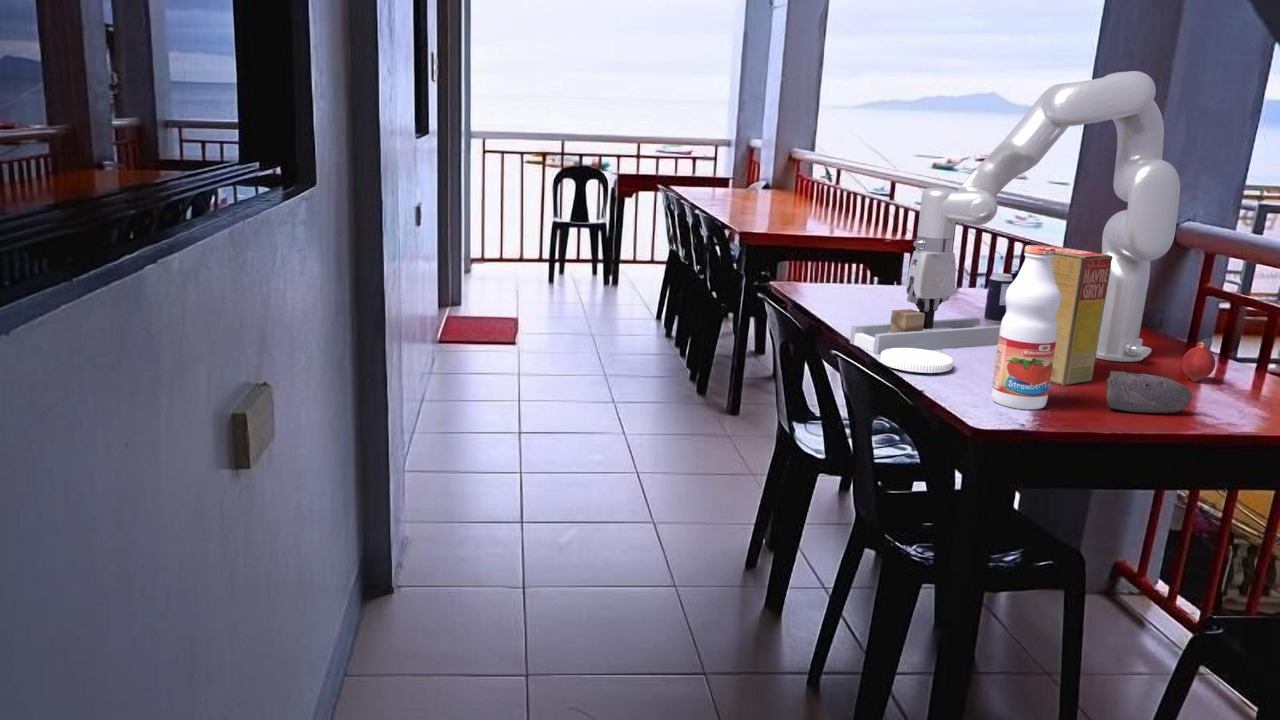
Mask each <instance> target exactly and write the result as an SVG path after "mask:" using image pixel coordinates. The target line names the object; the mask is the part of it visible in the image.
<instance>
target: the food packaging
mask: <svg viewBox="0 0 1280 720" xmlns="http://www.w3.org/2000/svg"><path fill="white" fill-rule="evenodd" d="M1048 247H1053V248H1055V255H1054V258H1053V259H1052V266H1053V271H1054V276H1055V280H1056V283H1057V286H1058V288H1059V290H1060V292H1061V297H1062V298H1061V305H1060V308H1059V310H1058V312H1057V314H1056V321H1057V325H1058V330H1057V340H1056V346H1055V352H1054V359H1053V366H1052V372H1051V379H1050V383H1052V382H1053V384H1056V385H1059V384H1060V386H1062V387H1063V386H1071V385H1075V384H1082V383H1083V384H1084V383H1087V382H1092V381H1093V377H1094V376H1093V375H1094V369H1095V362H1096V359H1097V358H1096V352H1097V346H1098V340H1099V333H1100V328H1101V322H1102V316H1103V310H1104V304H1105V299H1106V293H1107V288H1108V282H1109V276H1110V270H1111V263H1112V259H1113V256H1112V255H1105V254H1102V253H1097V252H1092V251H1087V250H1082V249H1081V250H1079V249H1075V248H1067V247H1062V246H1058V245H1057V246H1056V245H1053V246H1052V245H1049V246H1048Z"/></svg>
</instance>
